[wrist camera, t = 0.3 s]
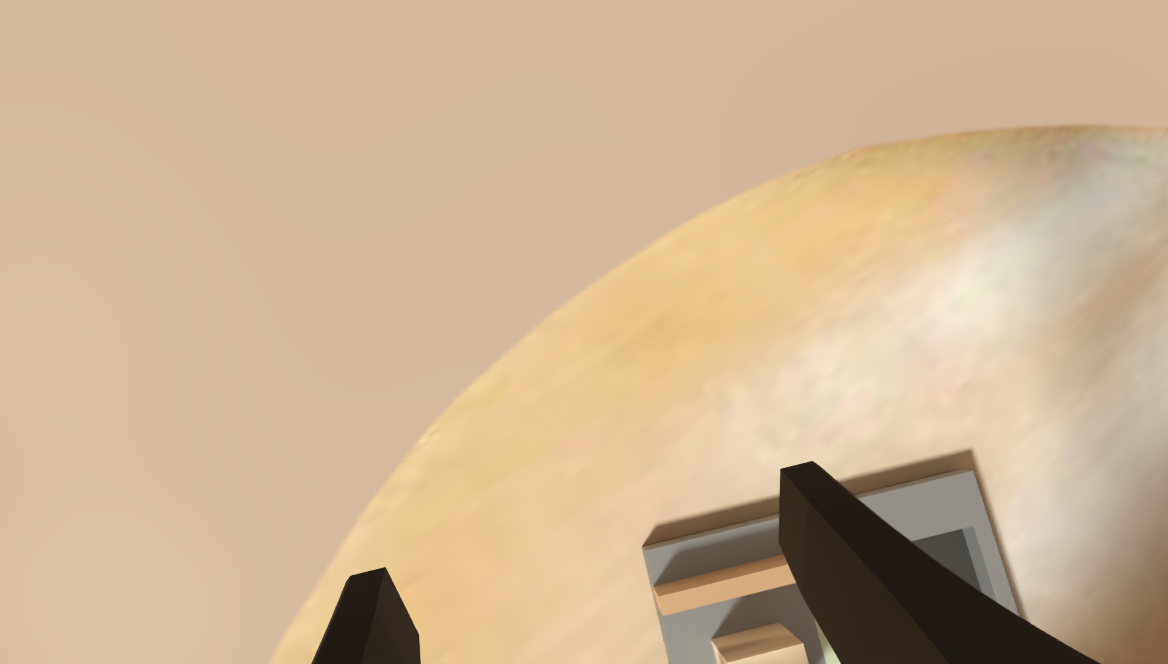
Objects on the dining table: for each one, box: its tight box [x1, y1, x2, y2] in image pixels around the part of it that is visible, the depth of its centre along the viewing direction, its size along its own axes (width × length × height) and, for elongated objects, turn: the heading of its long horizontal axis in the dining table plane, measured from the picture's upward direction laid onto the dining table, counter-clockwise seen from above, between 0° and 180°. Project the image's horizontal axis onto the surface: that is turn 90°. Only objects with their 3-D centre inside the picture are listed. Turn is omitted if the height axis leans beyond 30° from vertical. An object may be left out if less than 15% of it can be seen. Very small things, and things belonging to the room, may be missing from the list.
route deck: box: [642, 470, 1019, 664], centre depth 37 cm, size 15×20×4 cm
